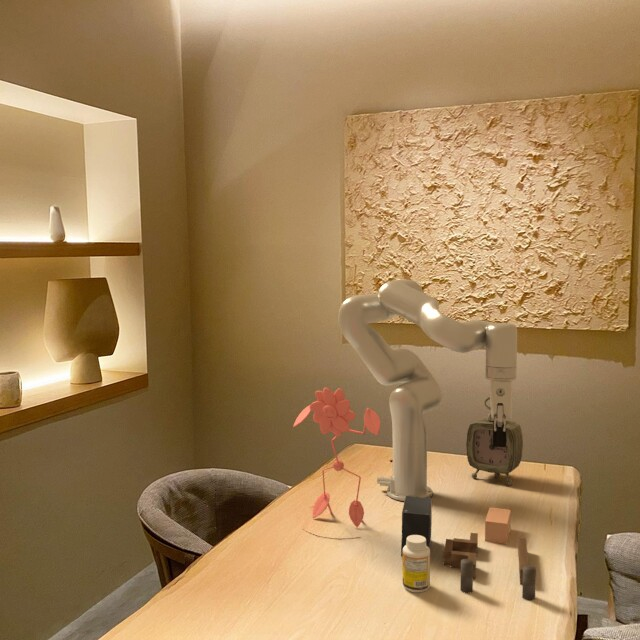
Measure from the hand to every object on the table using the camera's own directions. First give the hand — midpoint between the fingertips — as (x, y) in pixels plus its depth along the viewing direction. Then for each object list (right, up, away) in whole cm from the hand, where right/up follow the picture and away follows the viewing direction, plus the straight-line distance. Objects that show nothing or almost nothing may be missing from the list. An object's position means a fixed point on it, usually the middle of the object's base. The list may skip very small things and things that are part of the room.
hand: (499, 441), depth 173 cm
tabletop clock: (+7, -17, +30) cm, 35 cm away
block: (-3, -21, -8) cm, 23 cm away
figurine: (-42, -21, -2) cm, 47 cm away
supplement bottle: (-26, -24, -33) cm, 48 cm away
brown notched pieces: (-9, -23, -26) cm, 36 cm away
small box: (-23, -22, -15) cm, 35 cm away
